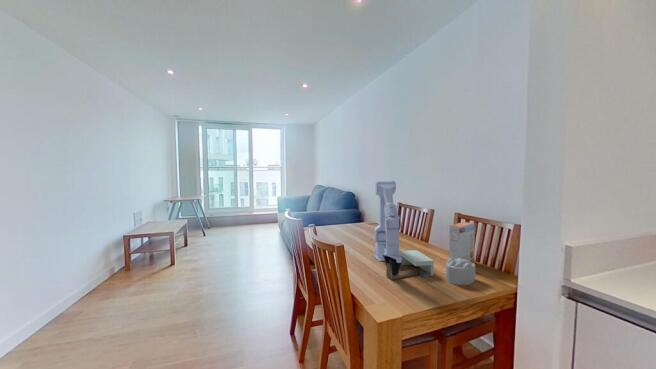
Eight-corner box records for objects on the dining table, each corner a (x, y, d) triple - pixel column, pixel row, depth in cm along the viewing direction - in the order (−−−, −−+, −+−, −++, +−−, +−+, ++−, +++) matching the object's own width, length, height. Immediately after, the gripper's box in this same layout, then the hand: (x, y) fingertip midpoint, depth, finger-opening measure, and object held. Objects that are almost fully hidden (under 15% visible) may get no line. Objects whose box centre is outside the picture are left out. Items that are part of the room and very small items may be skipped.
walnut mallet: (386, 276, 119) (386, 263, 118) (419, 270, 126) (420, 258, 126) (391, 279, 115) (392, 266, 115) (425, 273, 123) (426, 261, 122)
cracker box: (463, 259, 141) (464, 221, 140) (474, 262, 136) (475, 223, 135) (448, 264, 134) (449, 224, 133) (459, 268, 129) (460, 226, 128)
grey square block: (417, 275, 121) (417, 271, 121) (424, 273, 123) (424, 270, 123) (424, 278, 118) (424, 275, 118) (430, 277, 119) (430, 273, 119)
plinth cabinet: (399, 264, 135) (400, 251, 134) (416, 263, 136) (416, 250, 136) (415, 276, 119) (415, 261, 118) (433, 275, 120) (433, 260, 120)
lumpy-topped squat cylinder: (478, 280, 115) (478, 261, 115) (462, 287, 108) (463, 267, 107) (455, 272, 124) (455, 254, 123) (439, 279, 116) (440, 260, 116)
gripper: (378, 239, 123) (378, 267, 124) (390, 248, 109) (390, 280, 110) (392, 238, 124) (392, 266, 125) (406, 247, 110) (406, 279, 111)
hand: (392, 272), depth 118 cm, fingers closed on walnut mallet, 5 cm apart
